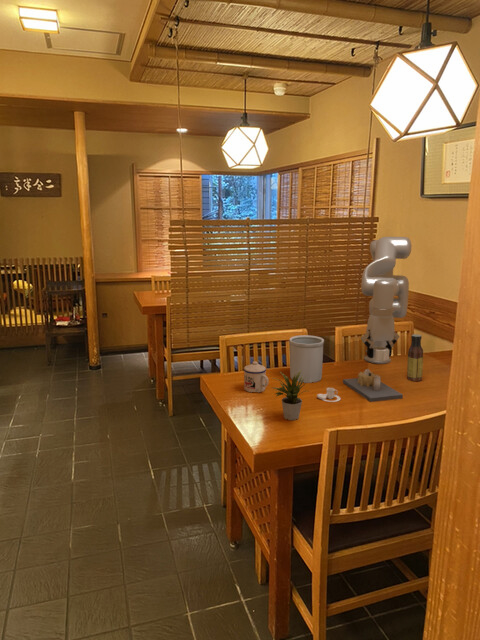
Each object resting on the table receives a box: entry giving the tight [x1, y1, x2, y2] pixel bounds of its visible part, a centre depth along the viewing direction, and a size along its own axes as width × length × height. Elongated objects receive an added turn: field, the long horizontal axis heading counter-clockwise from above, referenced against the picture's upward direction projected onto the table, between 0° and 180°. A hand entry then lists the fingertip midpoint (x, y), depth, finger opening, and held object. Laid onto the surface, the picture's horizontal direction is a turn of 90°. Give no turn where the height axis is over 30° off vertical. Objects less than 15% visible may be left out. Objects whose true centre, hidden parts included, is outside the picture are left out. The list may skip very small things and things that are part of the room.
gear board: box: [342, 368, 404, 403], centre depth 185 cm, size 22×14×8 cm, turn 15°
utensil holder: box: [288, 334, 325, 384], centre depth 199 cm, size 15×15×18 cm
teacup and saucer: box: [316, 387, 342, 403], centre depth 177 cm, size 9×8×4 cm
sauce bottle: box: [406, 333, 424, 382], centre depth 197 cm, size 7×6×20 cm
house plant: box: [272, 371, 311, 421], centre depth 160 cm, size 14×14×16 cm
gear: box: [370, 346, 390, 361], centre depth 179 cm, size 7×7×4 cm
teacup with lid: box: [243, 361, 270, 393], centre depth 184 cm, size 12×9×12 cm
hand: (379, 356), depth 179 cm, fingers closed on gear, 7 cm apart
